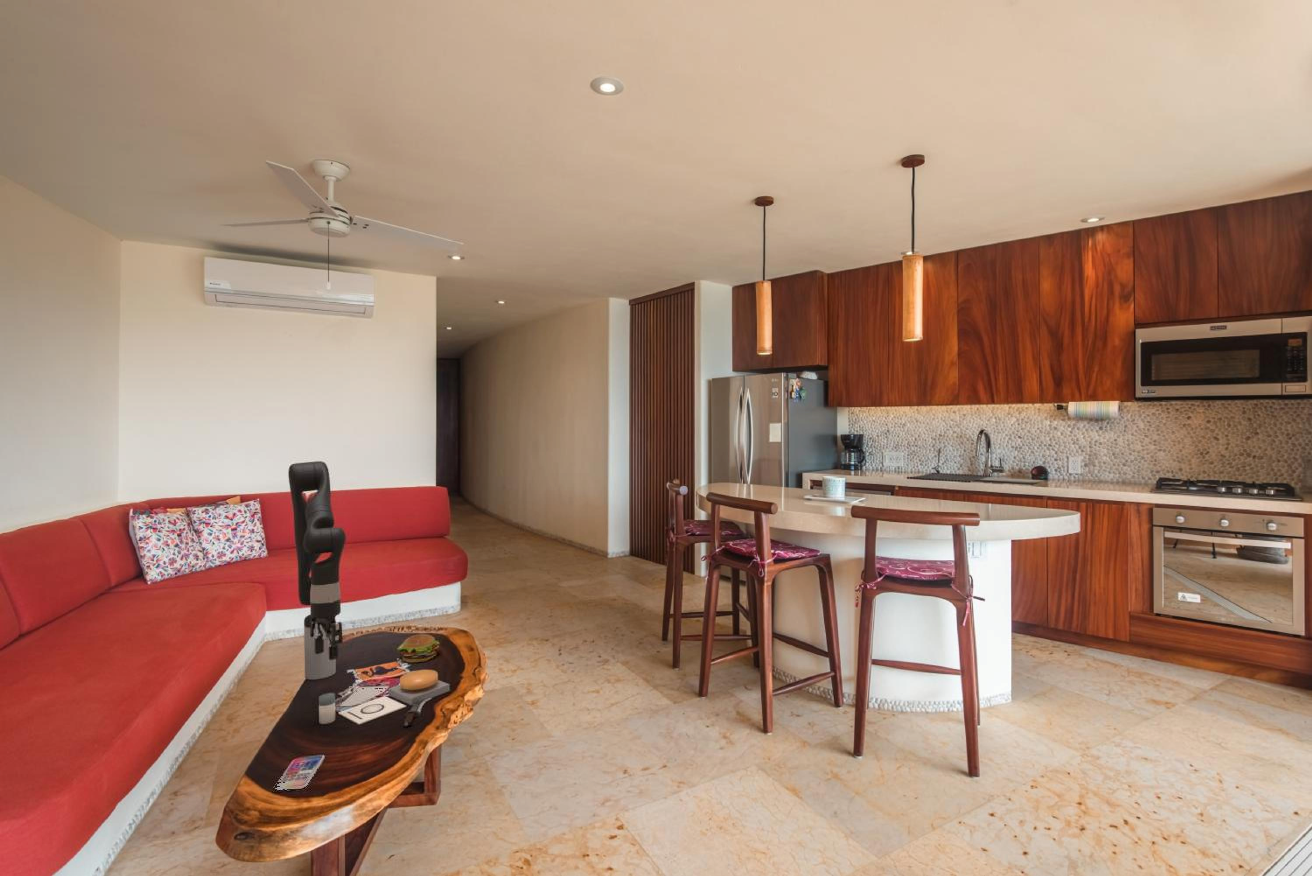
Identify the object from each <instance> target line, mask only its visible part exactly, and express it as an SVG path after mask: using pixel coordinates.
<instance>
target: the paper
mask: <svg viewBox="0 0 1312 876" xmlns="http://www.w3.org/2000/svg"><path fill="white" fill-rule="evenodd" d="M357 705H358V706H357ZM357 705H354V706H352V708H350V709H347V710H344V711H340V712H338V713H337V714H338V715H340V716H342V717H344V718H346V719H348V720H350V721H351V722H353V723H356V724H357V725H361V724H364V723H367V722H369V721H372V720H374V719H378V718H380V717H382V716H385V715H388V714H391V713H393V712H396V711H398V710H401V709H403V708H406V707H407V705H406V704H402V703H401V702H398V701H397V700H395V699H392V698H390V697H387V696H385V695H384V696H380V697H378V698H375V699H372V700H370V701H367V702H363V703H362V704H357Z"/></svg>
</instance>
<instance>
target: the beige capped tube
mask: <svg viewBox="0 0 1312 876" xmlns="http://www.w3.org/2000/svg"><path fill="white" fill-rule="evenodd" d="M335 721H336V693H335V692H328V693H322V694H321V695H319V697H318V723H319V724H321V725H324V724H325V725H326V724H330V723H333V722H335Z"/></svg>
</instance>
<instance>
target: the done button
mask: <svg viewBox="0 0 1312 876" xmlns="http://www.w3.org/2000/svg"><path fill="white" fill-rule="evenodd" d="M438 680H439V673H438V672H437V671H436V670H434V669H420V670H413V671H411V672H406V673H405V674H403V675H401V676H400V678H399V685H400V687H401V688H403V689H407V690H417V689H423V688H427V687H430V686H432V685H434V684H435V683H437V681H438Z"/></svg>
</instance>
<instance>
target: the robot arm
mask: <svg viewBox="0 0 1312 876" xmlns="http://www.w3.org/2000/svg"><path fill="white" fill-rule="evenodd" d="M329 471H330V470H329V468H328V465H327V463H326V462H324V461H320V460H319V461H306V462H296V463H292V464H290V465H289V468H288V475H287V476H288V482H289V483H288V484H289V490H290V495H291V502H292V511H293V527H294V541H295V551H296V558H297V560H296V561H297V576H298V577H297V579H298V580H297V587H298V589H297V591H298V592H297V593H298V600H299V603H300V604H301V605H302V606H309V607H310V609H309V610H310V614H308V615H307V616H305V617H304V618H303V632H304V633H303V640H304V678H305V679H307V680H321V679H325V678H328V677H329V678H330V677H332V676H334V675H335V673H336V671H337V670H336V665H337V664H336V663H337V661H336V660H337V659H338V658H339V645H342V644H343V625H342V622H341V621H339V622H338V621H336V617H337V616H339V615H340V614H341V612H342V611H341V610H342V609H341V608H342V607H341V604H342V603H341V602H342V601H341V587H340V562H341V558H342V554H343V550H344V548H345V543H346V540H347V536H346V532H345V531H344V529H343V528H341V527H339V526H335V518H334V514H333V513H334V512H333V509H332V503H331V502H332V501H331V497H332V495H331V493H332V491H331V479H330V478H331V477H330V472H329ZM312 491H316V492H315V493H314V494H313V496H312V497H311V498H310V499H309V501H307V500H306V499H305V496H304V495H303V493H305V492H312ZM328 553H330V555H329V556H328V557H327V558H325V559H323V560H320V561H318V560H319V558H320V557H321V555H322V554H328Z"/></svg>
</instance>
